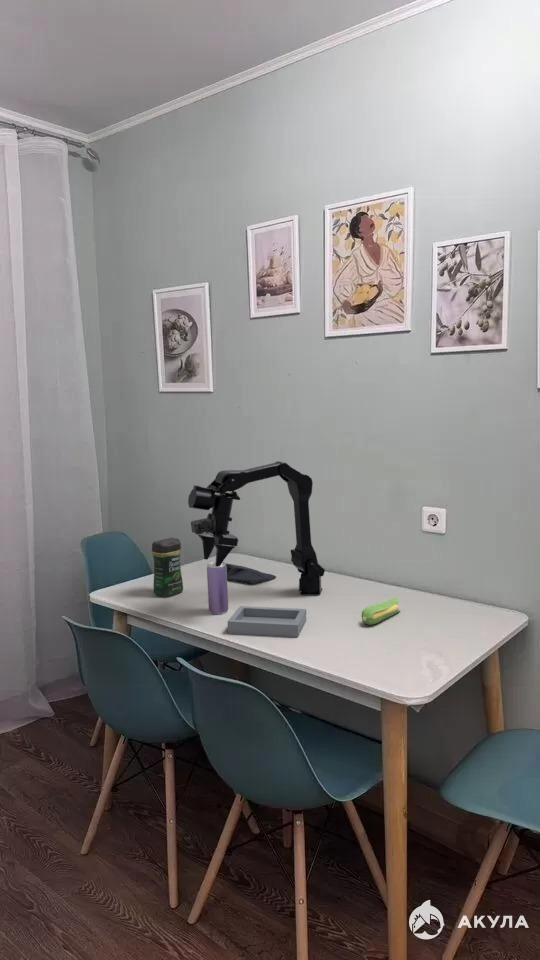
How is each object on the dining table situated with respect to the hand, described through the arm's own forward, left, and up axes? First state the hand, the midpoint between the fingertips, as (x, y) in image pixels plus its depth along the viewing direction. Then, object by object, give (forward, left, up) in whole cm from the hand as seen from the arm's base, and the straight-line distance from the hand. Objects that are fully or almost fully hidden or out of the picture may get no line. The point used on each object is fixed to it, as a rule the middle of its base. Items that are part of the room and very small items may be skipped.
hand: (211, 562), depth 211 cm
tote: (-19, +10, -15) cm, 27 cm away
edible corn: (-51, -2, -16) cm, 54 cm away
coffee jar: (+21, -15, -16) cm, 30 cm away
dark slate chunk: (+1, -36, -16) cm, 40 cm away
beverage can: (-1, 0, -16) cm, 16 cm away
